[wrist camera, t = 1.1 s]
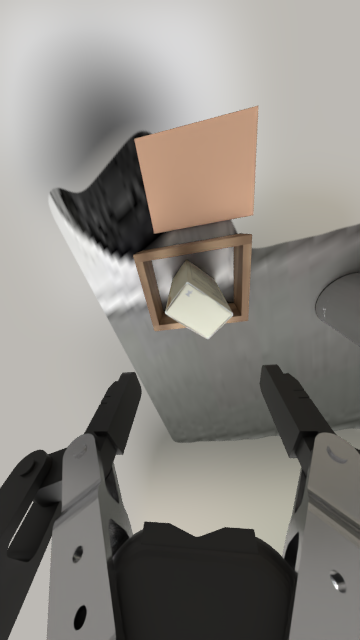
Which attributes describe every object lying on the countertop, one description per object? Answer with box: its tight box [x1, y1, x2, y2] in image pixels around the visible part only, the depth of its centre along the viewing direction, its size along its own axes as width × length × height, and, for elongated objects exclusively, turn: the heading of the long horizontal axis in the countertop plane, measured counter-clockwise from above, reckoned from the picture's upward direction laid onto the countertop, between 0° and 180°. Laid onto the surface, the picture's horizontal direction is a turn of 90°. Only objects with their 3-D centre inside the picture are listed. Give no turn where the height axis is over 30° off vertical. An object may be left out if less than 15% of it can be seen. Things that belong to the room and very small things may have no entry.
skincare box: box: [165, 260, 233, 339], centre depth 22 cm, size 6×4×12 cm
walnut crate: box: [133, 233, 252, 331], centre depth 25 cm, size 15×12×5 cm
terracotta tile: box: [134, 106, 258, 234], centre depth 21 cm, size 14×10×1 cm
